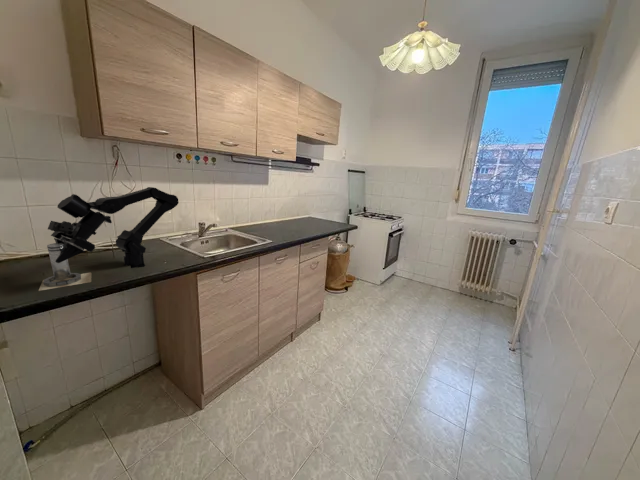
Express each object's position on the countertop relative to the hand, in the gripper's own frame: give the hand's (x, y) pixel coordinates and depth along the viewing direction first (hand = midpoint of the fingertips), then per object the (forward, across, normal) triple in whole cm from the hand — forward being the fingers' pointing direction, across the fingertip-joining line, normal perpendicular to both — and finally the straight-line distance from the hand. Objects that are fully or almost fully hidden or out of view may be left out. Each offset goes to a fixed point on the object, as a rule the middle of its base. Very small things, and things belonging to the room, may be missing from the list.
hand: (54, 261), depth 88 cm
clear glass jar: (+4, 0, +6) cm, 7 cm away
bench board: (+5, +1, +8) cm, 9 cm away
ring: (+5, 0, +6) cm, 8 cm away
